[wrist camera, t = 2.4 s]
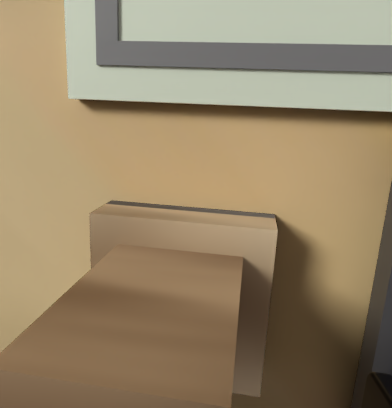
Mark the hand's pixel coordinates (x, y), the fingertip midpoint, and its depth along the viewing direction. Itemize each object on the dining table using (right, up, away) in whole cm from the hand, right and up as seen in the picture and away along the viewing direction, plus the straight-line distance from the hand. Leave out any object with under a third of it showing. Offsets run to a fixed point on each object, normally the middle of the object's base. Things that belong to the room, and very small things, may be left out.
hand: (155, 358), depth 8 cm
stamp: (+1, +1, +3) cm, 4 cm away
